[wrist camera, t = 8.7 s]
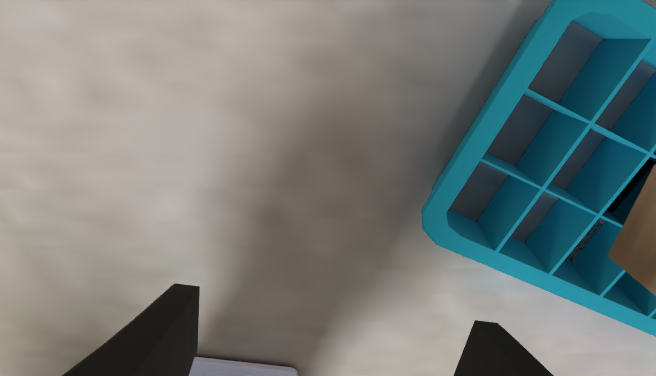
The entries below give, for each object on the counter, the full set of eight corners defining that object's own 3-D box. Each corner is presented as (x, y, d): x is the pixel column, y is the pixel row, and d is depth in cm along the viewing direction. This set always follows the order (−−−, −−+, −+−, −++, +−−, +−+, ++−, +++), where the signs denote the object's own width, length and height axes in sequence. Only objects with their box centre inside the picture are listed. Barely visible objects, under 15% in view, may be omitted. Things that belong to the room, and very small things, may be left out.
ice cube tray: (691, 330, 24) (739, 371, 21) (399, 204, 20) (410, 233, 18) (867, 166, 20) (955, 190, 17) (536, -28, 16) (580, -37, 13)
